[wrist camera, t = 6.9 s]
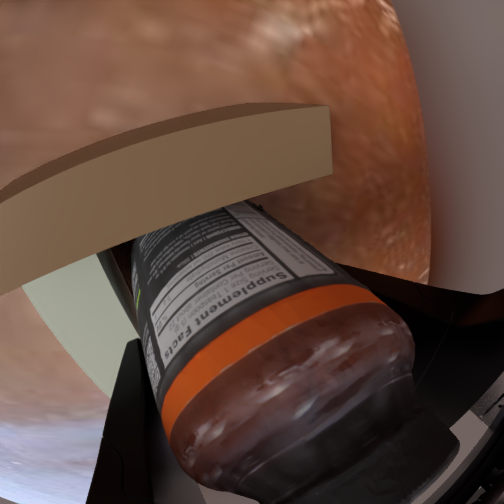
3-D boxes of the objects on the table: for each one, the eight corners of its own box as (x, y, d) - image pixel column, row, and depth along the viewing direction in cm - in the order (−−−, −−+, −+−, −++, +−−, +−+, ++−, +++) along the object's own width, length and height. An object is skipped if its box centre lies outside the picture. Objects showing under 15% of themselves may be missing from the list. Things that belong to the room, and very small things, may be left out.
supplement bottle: (270, 272, 14) (437, 451, 5) (162, 323, 13) (268, 557, 4) (244, 159, 11) (549, 345, 2) (103, 217, 10) (174, 613, 1)
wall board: (281, 379, 21) (315, 424, 18) (170, 428, 18) (191, 481, 14) (247, 103, 10) (329, 105, 7) (11, 181, 7) (-46, 233, 3)
